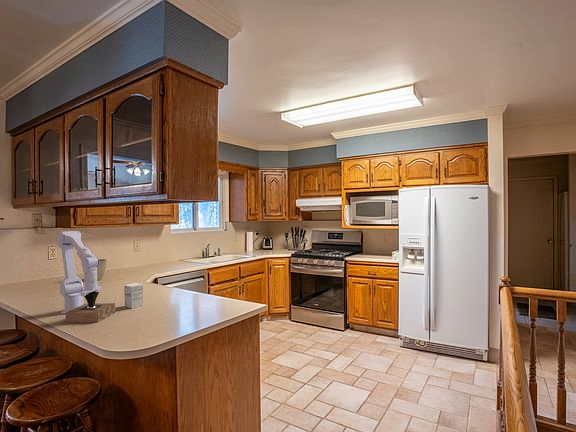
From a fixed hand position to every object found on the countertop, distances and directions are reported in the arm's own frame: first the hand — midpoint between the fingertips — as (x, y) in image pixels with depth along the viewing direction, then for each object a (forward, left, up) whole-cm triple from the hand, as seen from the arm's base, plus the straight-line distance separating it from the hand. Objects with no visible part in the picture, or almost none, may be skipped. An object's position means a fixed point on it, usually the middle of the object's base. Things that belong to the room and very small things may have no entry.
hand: (91, 306), depth 170 cm
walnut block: (0, 0, -5) cm, 5 cm away
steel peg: (0, 0, -6) cm, 6 cm away
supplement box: (-19, +13, -6) cm, 24 cm away
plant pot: (-99, -54, -6) cm, 113 cm away
